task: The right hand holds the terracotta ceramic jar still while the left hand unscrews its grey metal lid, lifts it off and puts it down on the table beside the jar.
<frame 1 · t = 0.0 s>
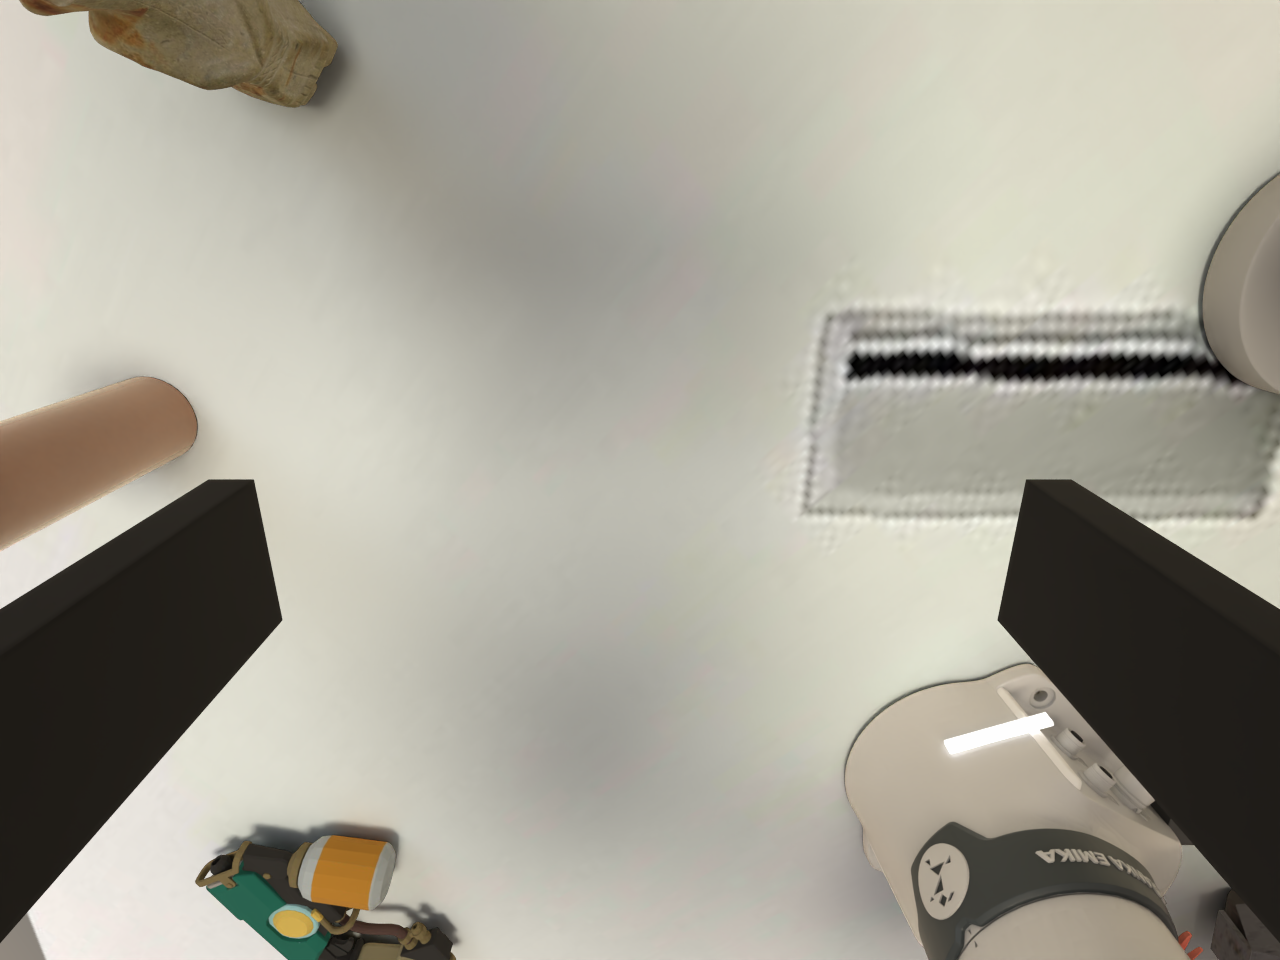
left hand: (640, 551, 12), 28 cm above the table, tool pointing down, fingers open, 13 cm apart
sculpture: (275, 39, 34), on the table
spray gun: (343, 897, 54), on the table
jar: (153, 418, 41), on the table
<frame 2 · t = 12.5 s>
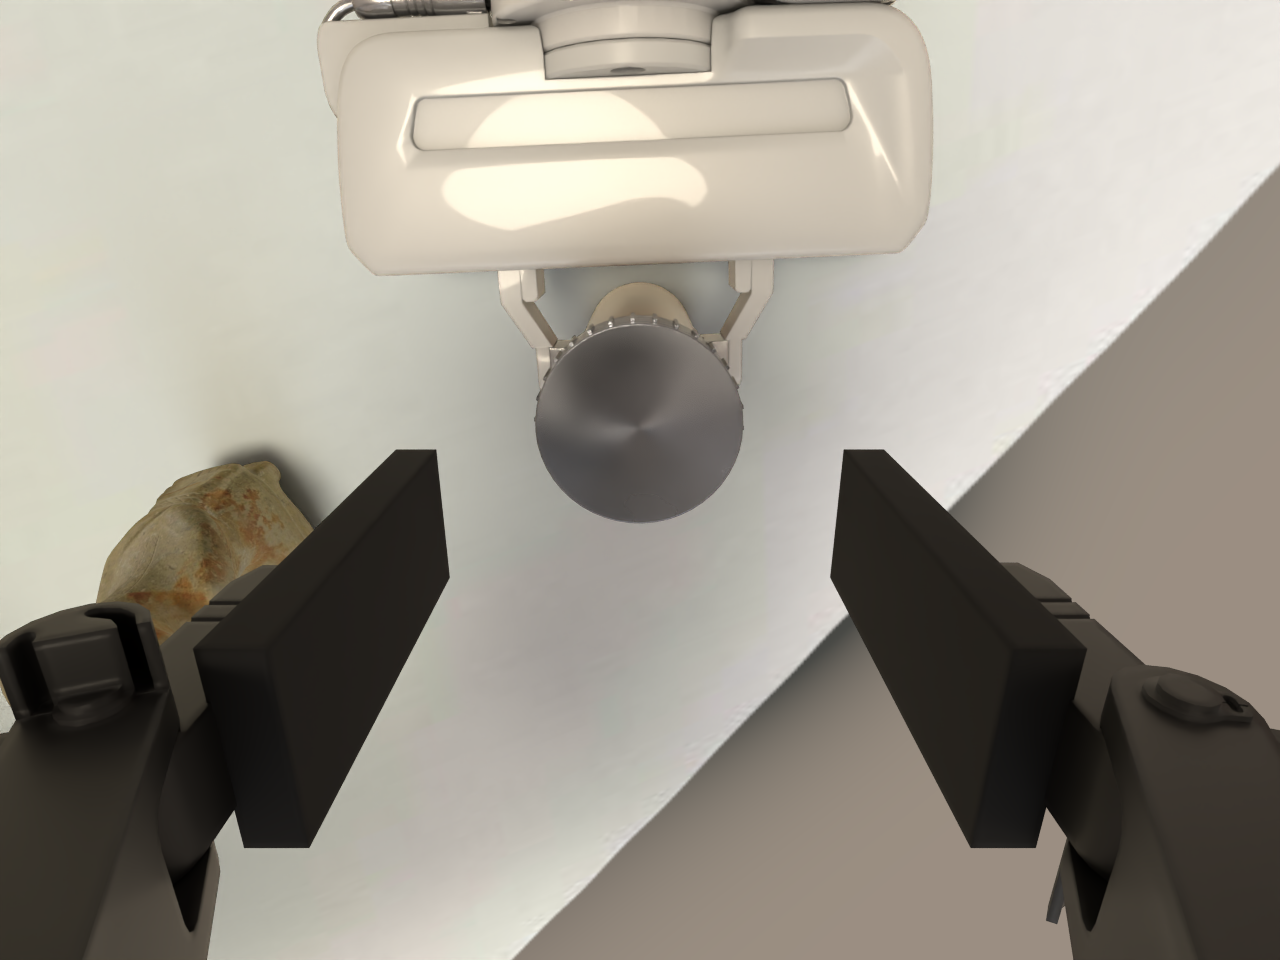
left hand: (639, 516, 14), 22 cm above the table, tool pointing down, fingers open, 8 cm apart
right hand: (641, 386, 28), fingers closed on jar, 5 cm apart
lid: (639, 425, 20), point 15 cm above the table, screwed on, not yet turned
sculpture: (272, 512, 37), on the table
jar: (639, 334, 34), on the table, touching right hand
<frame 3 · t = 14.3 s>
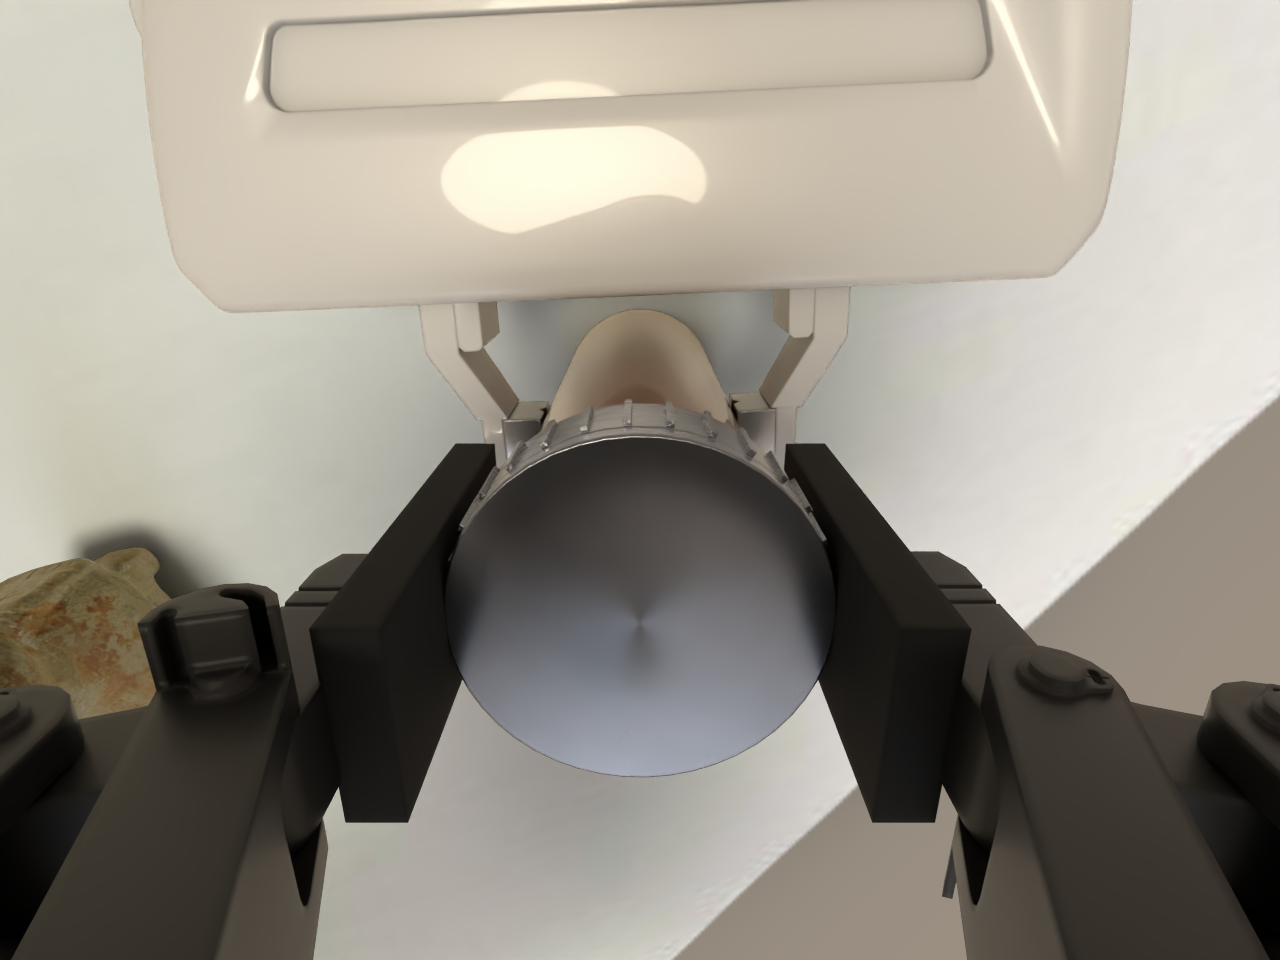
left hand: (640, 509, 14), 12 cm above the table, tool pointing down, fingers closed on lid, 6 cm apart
lid: (640, 610, 11), point 15 cm above the table, screwed on, not yet turned, touching left hand
sculpture: (153, 609, 28), on the table
jar: (640, 380, 25), on the table, touching right hand
when the left hand's fingers open (12 cm above the table, at t = 15.7 s): lid stays where it is, point 16 cm above the table.
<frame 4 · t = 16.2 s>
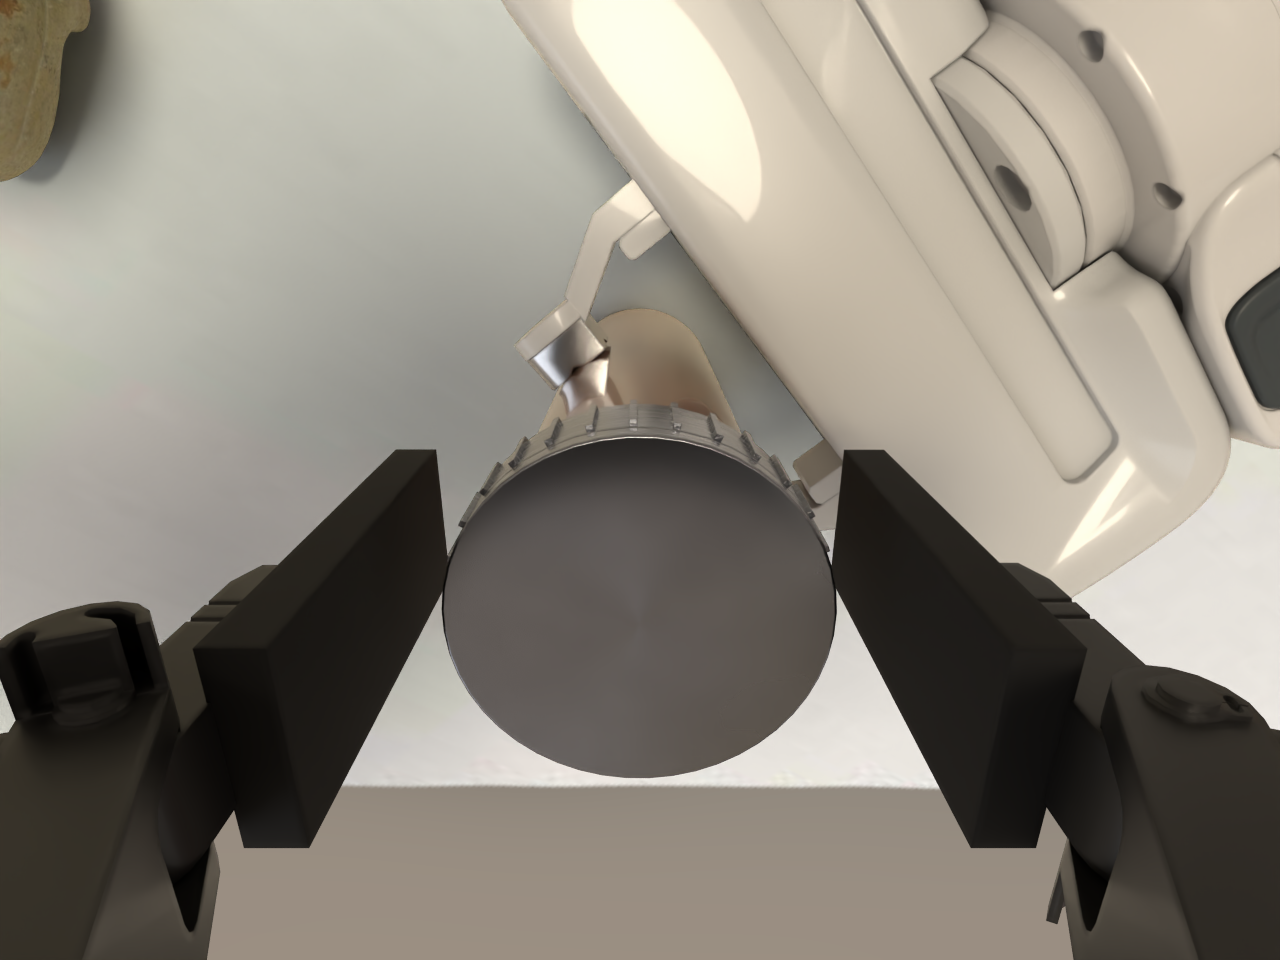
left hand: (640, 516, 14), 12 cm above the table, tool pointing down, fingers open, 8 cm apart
lid: (639, 611, 11), point 16 cm above the table, turned 100° so far, risen 0.3 cm, still on its thread
sculpture: (20, 50, 22), on the table
jar: (639, 378, 25), on the table, touching right hand
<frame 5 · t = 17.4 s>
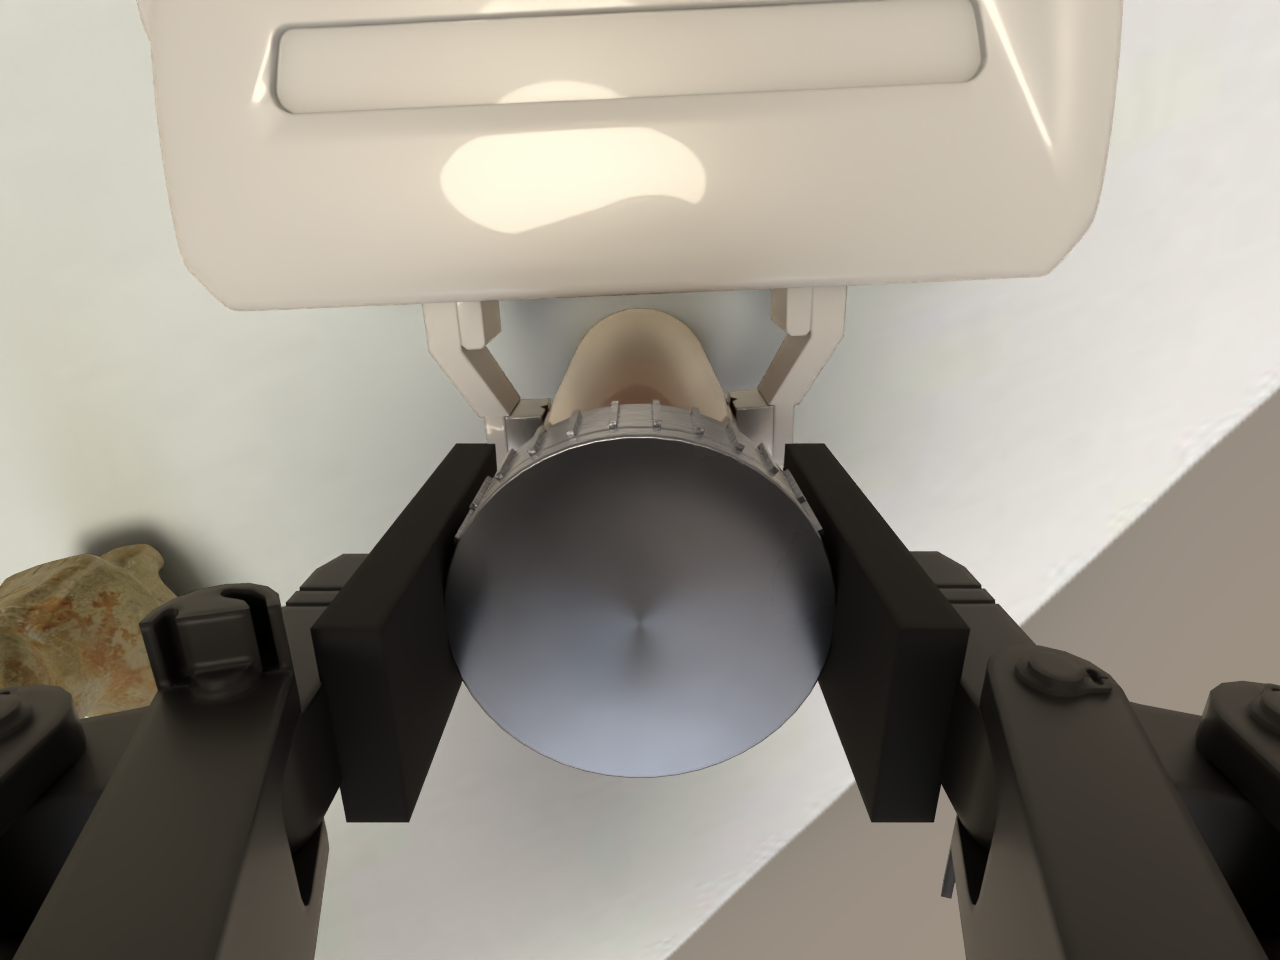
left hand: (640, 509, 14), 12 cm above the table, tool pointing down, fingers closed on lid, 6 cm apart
lid: (640, 610, 11), point 16 cm above the table, turned 100° so far, risen 0.3 cm, still on its thread, touching left hand
sculpture: (157, 605, 28), on the table
jar: (640, 378, 25), on the table, touching right hand
when the left hand's fingers open (0 cm above the table, at t = 25.0 s): lid drops 3 cm, point 1 cm above the table.
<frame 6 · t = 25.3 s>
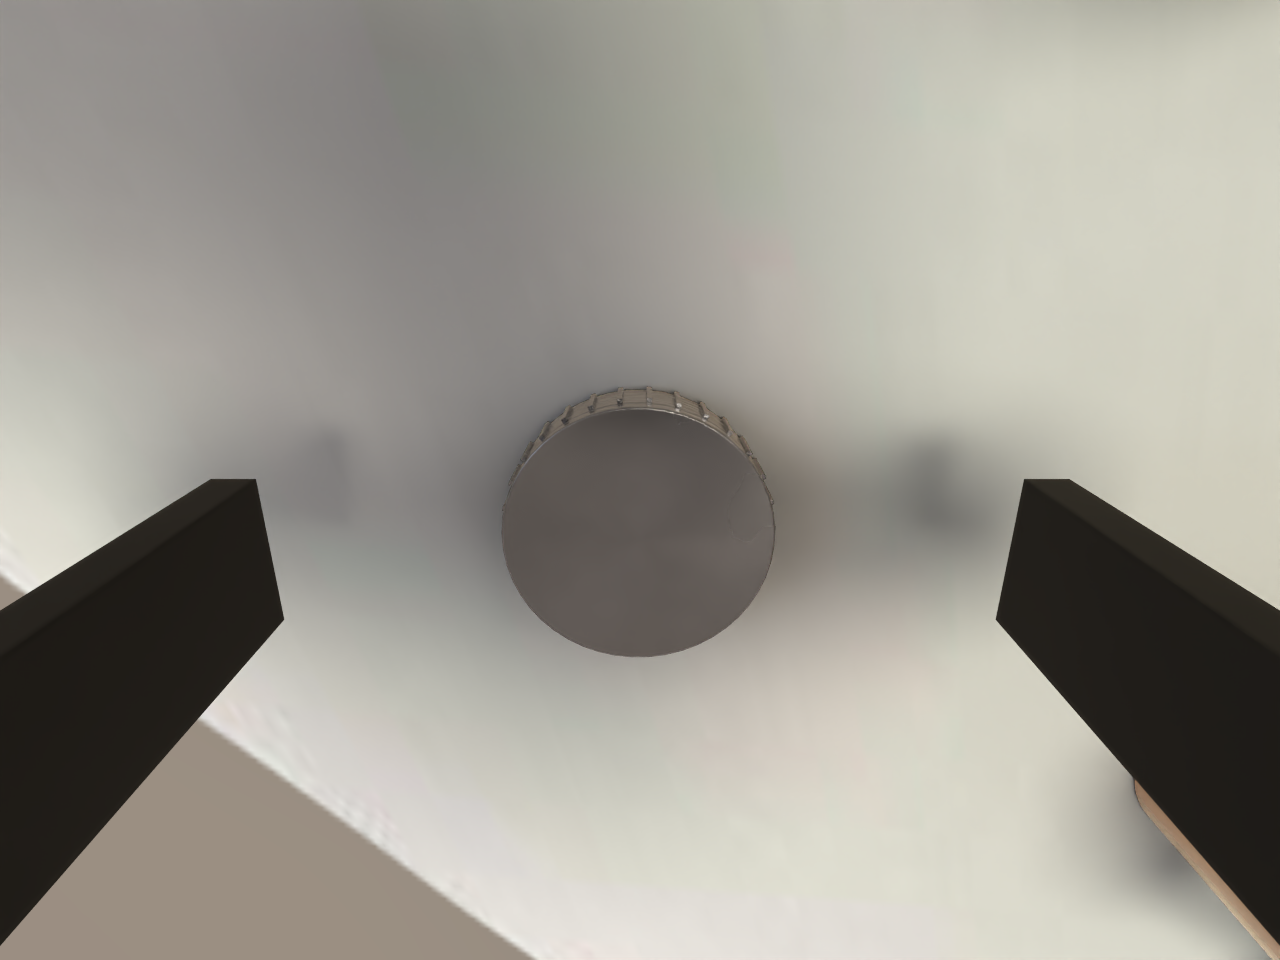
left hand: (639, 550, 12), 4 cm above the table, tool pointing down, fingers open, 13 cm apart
lid: (638, 533, 15), point 1 cm above the table, off its thread
jar: (1228, 763, 19), on the table, touching right hand
when the right hand's fingers open (7 cm above the table, at t = 25.6 s): jar stays where it is, on the table.
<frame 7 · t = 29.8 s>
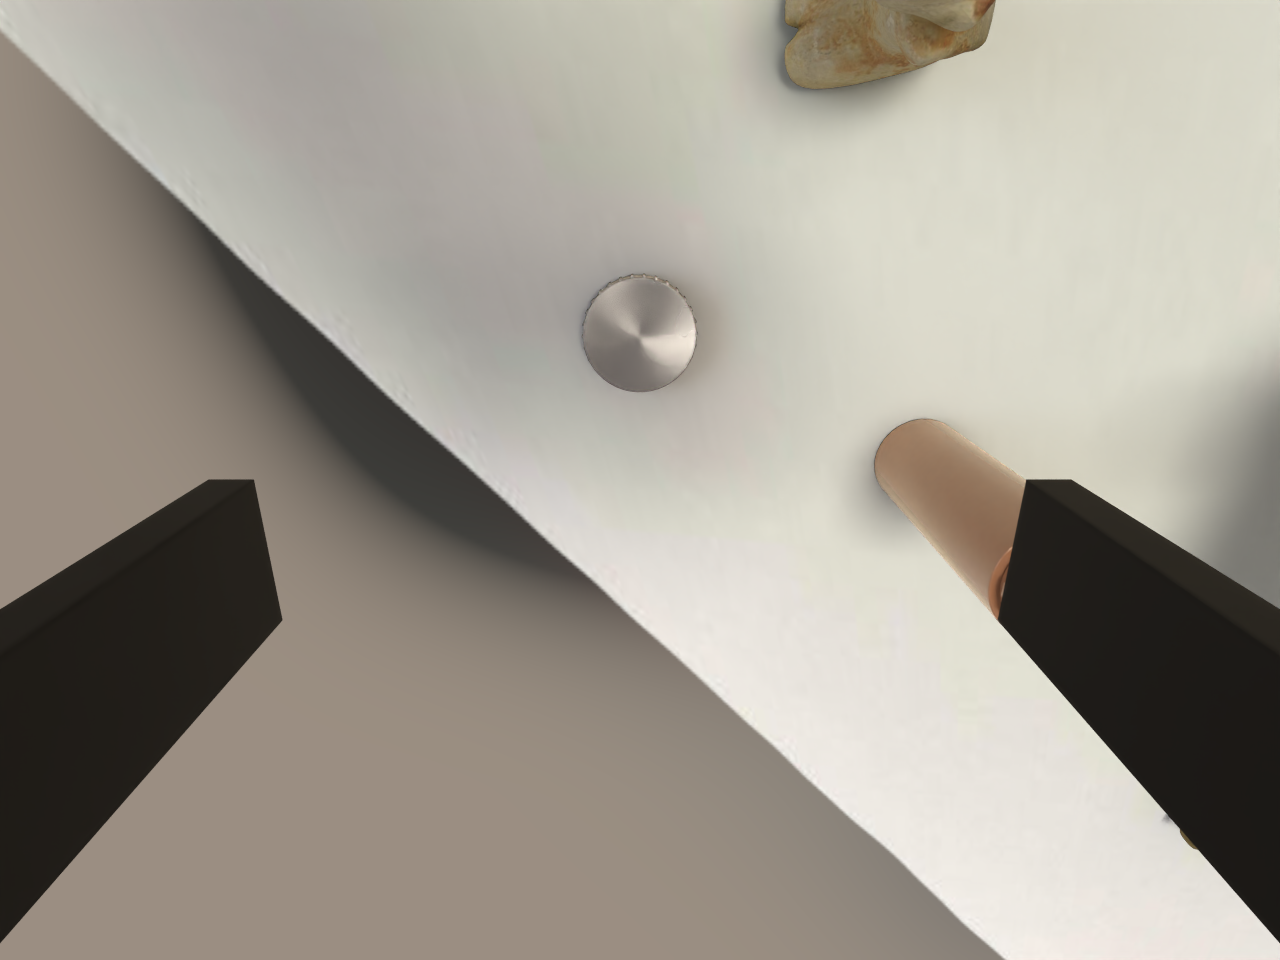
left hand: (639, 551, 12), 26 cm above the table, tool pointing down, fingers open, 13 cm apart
lid: (639, 335, 36), point 1 cm above the table, off its thread
sculpture: (856, 31, 32), on the table
jar: (918, 461, 40), on the table
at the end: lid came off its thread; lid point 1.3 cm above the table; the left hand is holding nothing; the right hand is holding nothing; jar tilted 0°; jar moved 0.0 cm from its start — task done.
